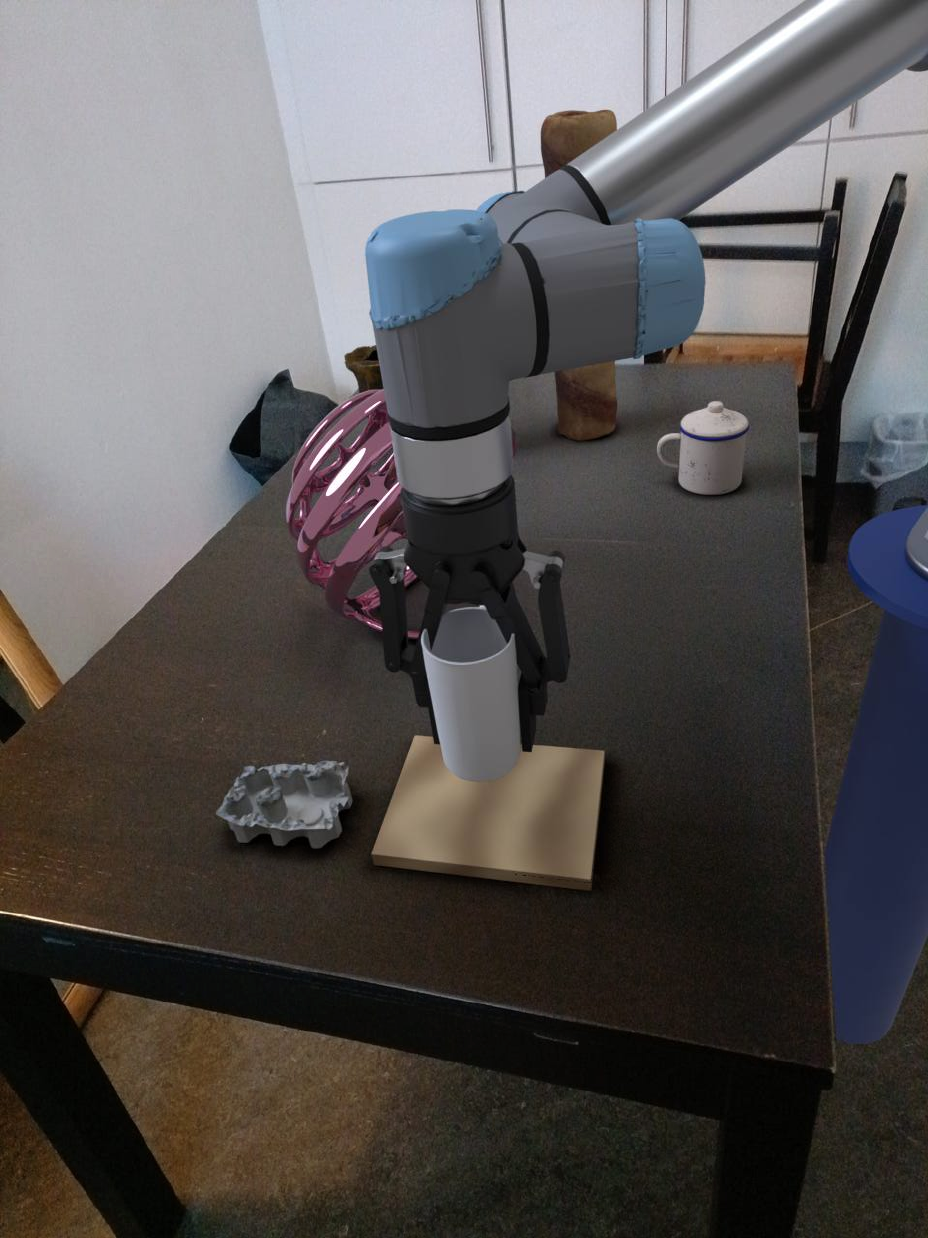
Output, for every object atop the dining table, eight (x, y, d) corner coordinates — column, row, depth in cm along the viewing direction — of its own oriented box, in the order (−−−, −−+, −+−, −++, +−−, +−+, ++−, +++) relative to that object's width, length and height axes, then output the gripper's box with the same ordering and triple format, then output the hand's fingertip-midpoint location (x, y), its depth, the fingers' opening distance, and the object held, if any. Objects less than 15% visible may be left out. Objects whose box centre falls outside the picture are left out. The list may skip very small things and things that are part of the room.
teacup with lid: (740, 467, 119) (748, 389, 112) (745, 497, 112) (754, 415, 105) (655, 467, 122) (658, 391, 115) (655, 497, 115) (658, 417, 108)
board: (604, 762, 75) (604, 750, 74) (591, 891, 64) (591, 879, 63) (416, 746, 79) (414, 735, 79) (373, 865, 68) (370, 854, 68)
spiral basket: (628, 458, 81) (433, 281, 84) (432, 642, 71) (219, 434, 74) (552, 569, 107) (405, 430, 110) (400, 715, 97) (244, 558, 100)
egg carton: (361, 791, 75) (353, 760, 73) (333, 858, 70) (323, 826, 67) (255, 779, 78) (245, 748, 76) (219, 842, 72) (206, 811, 70)
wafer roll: (551, 418, 140) (538, 112, 114) (613, 413, 140) (615, 103, 113) (553, 444, 132) (541, 119, 106) (620, 438, 131) (624, 109, 105)
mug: (514, 791, 62) (503, 668, 55) (429, 780, 64) (408, 660, 57) (538, 702, 70) (531, 585, 63) (462, 695, 72) (447, 580, 65)
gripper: (612, 454, 54) (610, 713, 67) (334, 453, 58) (384, 697, 72) (603, 509, 48) (603, 781, 61) (295, 504, 52) (357, 759, 66)
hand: (485, 736), depth 67 cm, fingers closed on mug, 6 cm apart
